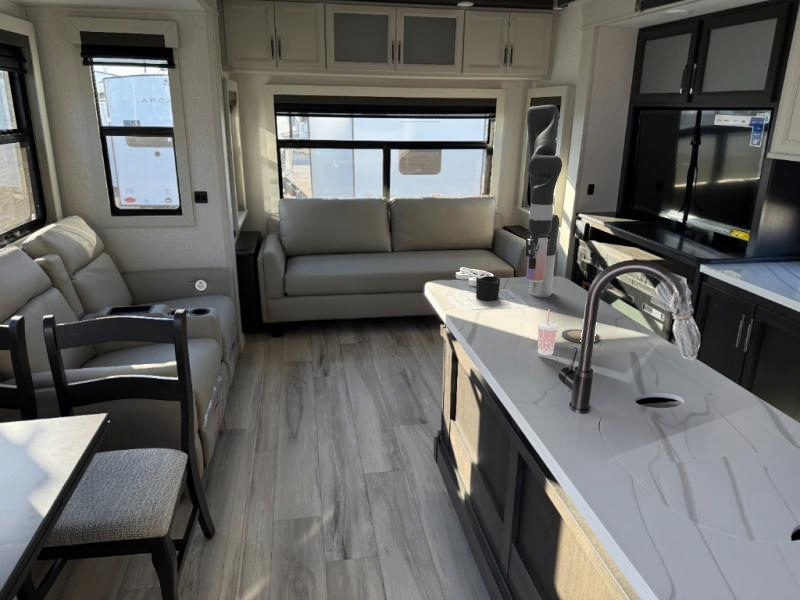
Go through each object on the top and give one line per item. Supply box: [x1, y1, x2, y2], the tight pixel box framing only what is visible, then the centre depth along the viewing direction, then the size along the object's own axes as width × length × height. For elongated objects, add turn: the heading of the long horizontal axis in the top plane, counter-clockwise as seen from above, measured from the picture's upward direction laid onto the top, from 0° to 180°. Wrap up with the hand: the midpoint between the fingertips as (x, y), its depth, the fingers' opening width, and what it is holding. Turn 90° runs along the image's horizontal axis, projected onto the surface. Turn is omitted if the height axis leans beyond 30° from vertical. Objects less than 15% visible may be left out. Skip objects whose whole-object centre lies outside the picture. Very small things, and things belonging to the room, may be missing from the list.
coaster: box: [561, 328, 601, 344], centre depth 187 cm, size 12×12×1 cm
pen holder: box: [475, 275, 501, 302], centre depth 224 cm, size 9×9×10 cm
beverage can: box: [525, 235, 548, 282], centre depth 189 cm, size 6×6×15 cm
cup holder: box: [455, 266, 495, 287], centre depth 247 cm, size 20×11×7 cm, turn 25°
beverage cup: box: [537, 308, 559, 356], centre depth 171 cm, size 6×6×14 cm
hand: (536, 267), depth 189 cm, fingers closed on beverage can, 6 cm apart
